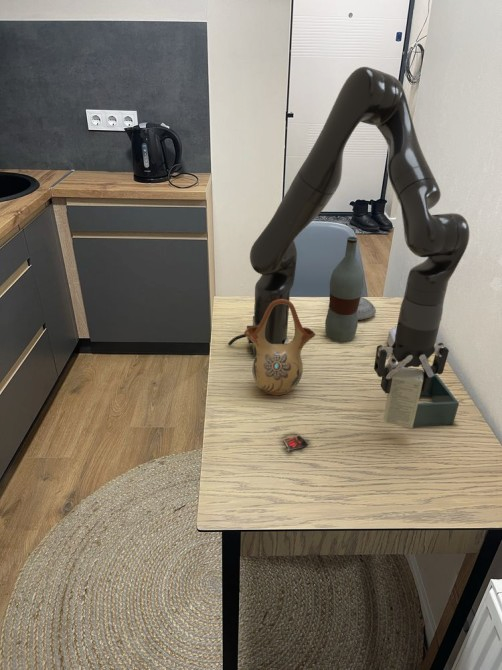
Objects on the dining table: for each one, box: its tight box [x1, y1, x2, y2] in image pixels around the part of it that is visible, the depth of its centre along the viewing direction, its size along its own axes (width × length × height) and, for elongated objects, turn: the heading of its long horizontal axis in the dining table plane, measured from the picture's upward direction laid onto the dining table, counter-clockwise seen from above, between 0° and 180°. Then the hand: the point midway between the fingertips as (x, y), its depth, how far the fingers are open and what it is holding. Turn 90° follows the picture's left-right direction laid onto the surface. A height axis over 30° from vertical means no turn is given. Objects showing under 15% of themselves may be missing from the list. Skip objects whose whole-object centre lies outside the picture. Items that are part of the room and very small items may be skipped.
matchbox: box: [282, 433, 309, 453], centre depth 105 cm, size 5×5×1 cm
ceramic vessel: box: [243, 299, 316, 396], centre depth 116 cm, size 16×9×25 cm, turn 90°
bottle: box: [324, 236, 364, 344], centre depth 139 cm, size 9×9×30 cm
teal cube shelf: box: [413, 374, 460, 427], centre depth 115 cm, size 10×11×6 cm
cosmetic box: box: [382, 367, 424, 429], centre depth 103 cm, size 6×4×12 cm
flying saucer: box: [357, 296, 377, 321], centre depth 159 cm, size 15×15×6 cm
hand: (403, 390), depth 102 cm, fingers closed on cosmetic box, 7 cm apart
